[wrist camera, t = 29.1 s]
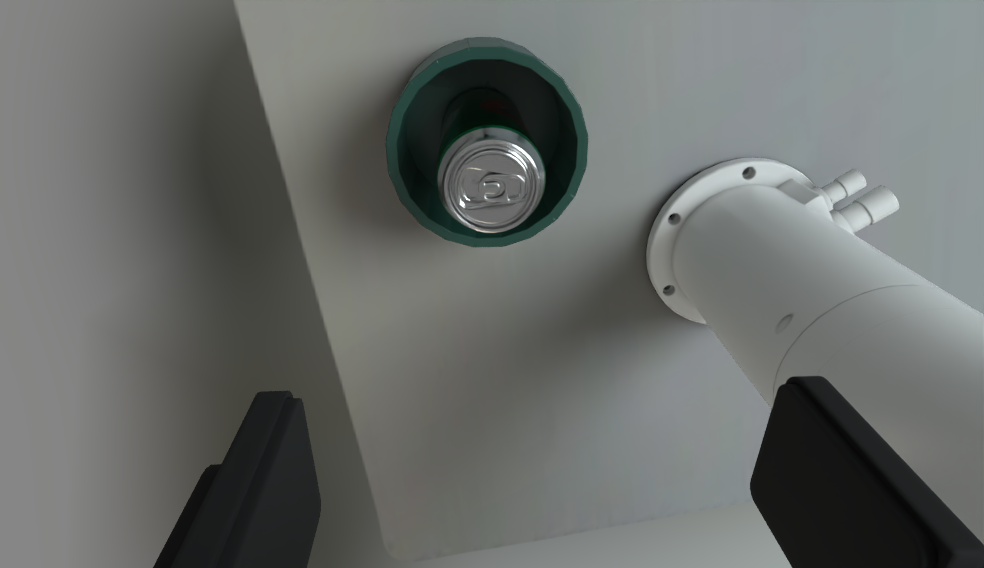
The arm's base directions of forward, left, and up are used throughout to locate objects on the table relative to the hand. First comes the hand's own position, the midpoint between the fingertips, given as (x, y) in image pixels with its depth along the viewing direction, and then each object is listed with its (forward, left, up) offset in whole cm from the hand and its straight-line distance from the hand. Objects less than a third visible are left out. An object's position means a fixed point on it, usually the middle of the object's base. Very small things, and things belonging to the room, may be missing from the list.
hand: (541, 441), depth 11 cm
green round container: (0, 0, -28) cm, 28 cm away
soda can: (0, 0, -28) cm, 28 cm away
